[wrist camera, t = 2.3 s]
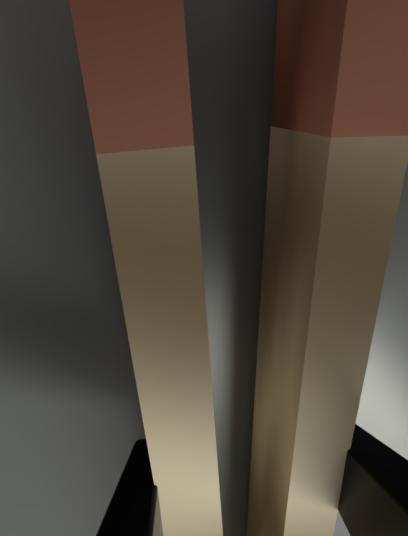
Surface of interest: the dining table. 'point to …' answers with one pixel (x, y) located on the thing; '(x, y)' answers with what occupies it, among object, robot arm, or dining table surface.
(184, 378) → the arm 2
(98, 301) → the board
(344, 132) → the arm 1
